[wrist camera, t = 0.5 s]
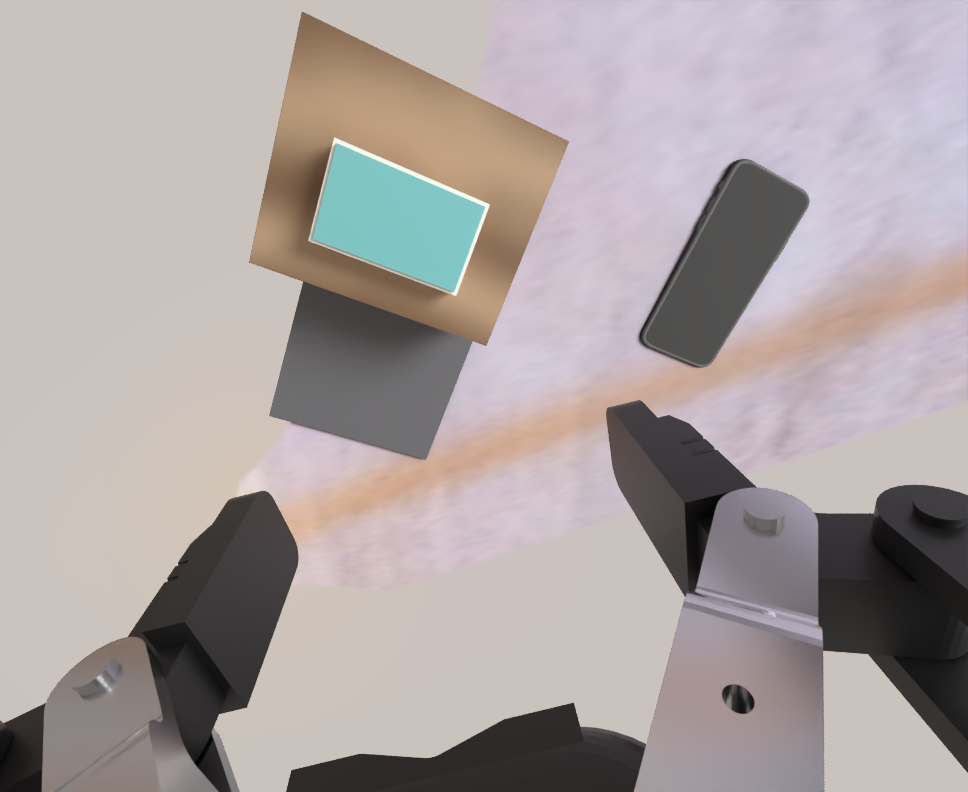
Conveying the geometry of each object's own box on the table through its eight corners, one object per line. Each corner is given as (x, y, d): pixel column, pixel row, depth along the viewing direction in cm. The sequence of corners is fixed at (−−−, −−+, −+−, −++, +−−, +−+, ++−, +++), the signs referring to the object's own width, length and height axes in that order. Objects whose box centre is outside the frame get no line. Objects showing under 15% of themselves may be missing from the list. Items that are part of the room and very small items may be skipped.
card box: (340, 141, 24) (333, 136, 22) (486, 204, 26) (490, 204, 24) (316, 238, 25) (307, 241, 24) (454, 290, 27) (456, 296, 25)
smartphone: (636, 343, 38) (740, 152, 33) (631, 339, 39) (732, 153, 34) (708, 372, 40) (818, 195, 35) (703, 368, 41) (808, 195, 36)
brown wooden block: (334, 59, 29) (301, 11, 22) (537, 154, 32) (569, 141, 25) (289, 248, 33) (249, 262, 25) (474, 316, 36) (486, 345, 29)
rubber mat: (310, 256, 33) (309, 256, 33) (480, 318, 36) (481, 319, 36) (270, 413, 37) (269, 415, 37) (425, 457, 40) (425, 459, 40)
